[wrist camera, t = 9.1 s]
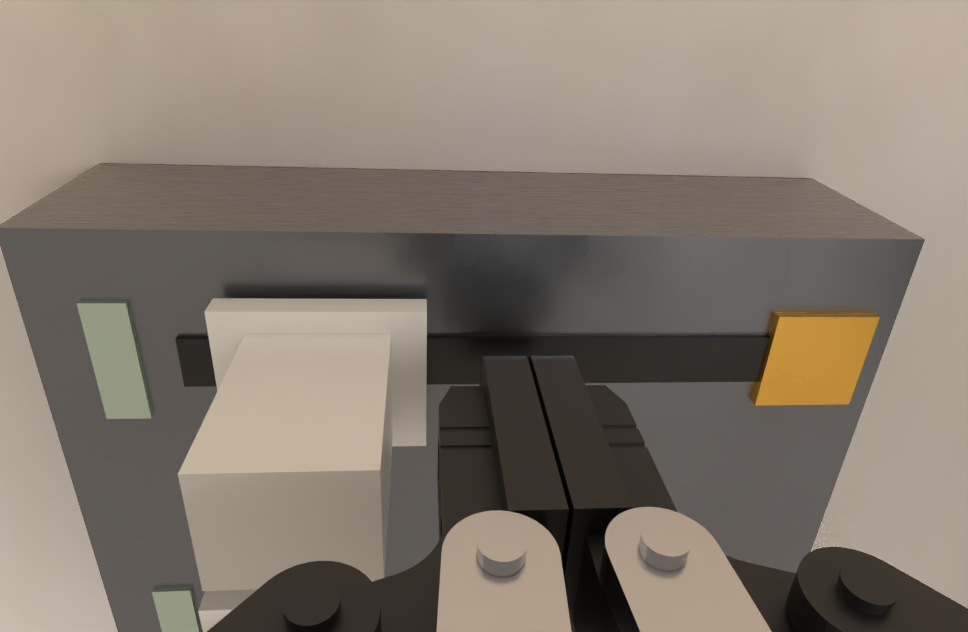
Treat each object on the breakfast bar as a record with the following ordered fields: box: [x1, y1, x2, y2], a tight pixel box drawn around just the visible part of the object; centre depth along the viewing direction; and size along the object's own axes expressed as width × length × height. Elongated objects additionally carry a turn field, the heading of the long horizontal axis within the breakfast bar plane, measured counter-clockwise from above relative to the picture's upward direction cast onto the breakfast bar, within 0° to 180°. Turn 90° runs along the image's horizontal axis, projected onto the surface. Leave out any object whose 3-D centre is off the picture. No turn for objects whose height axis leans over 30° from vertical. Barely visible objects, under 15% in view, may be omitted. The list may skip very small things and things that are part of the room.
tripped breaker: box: [178, 298, 427, 591], centre depth 10 cm, size 4×3×4 cm
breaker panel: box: [0, 163, 925, 632], centre depth 18 cm, size 16×19×4 cm
